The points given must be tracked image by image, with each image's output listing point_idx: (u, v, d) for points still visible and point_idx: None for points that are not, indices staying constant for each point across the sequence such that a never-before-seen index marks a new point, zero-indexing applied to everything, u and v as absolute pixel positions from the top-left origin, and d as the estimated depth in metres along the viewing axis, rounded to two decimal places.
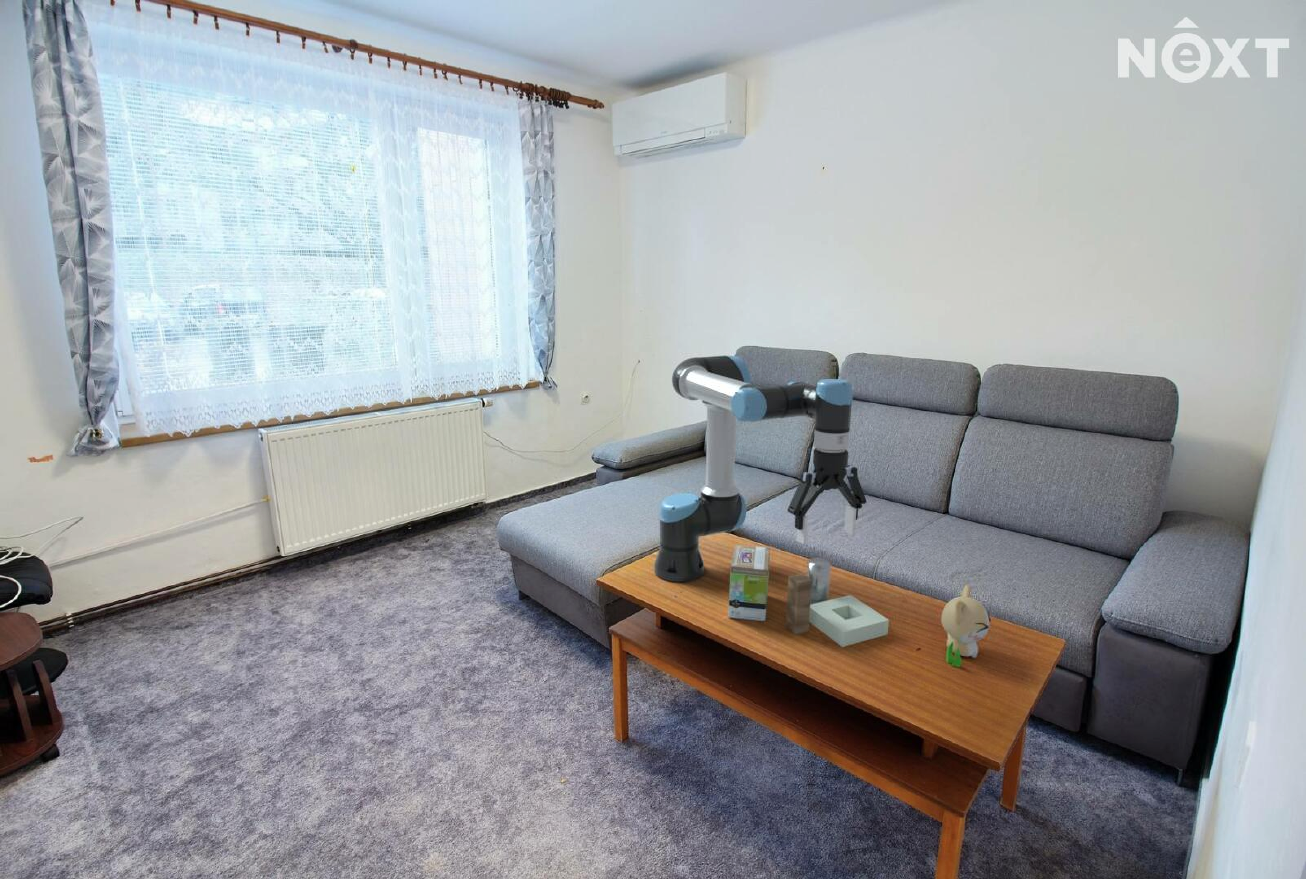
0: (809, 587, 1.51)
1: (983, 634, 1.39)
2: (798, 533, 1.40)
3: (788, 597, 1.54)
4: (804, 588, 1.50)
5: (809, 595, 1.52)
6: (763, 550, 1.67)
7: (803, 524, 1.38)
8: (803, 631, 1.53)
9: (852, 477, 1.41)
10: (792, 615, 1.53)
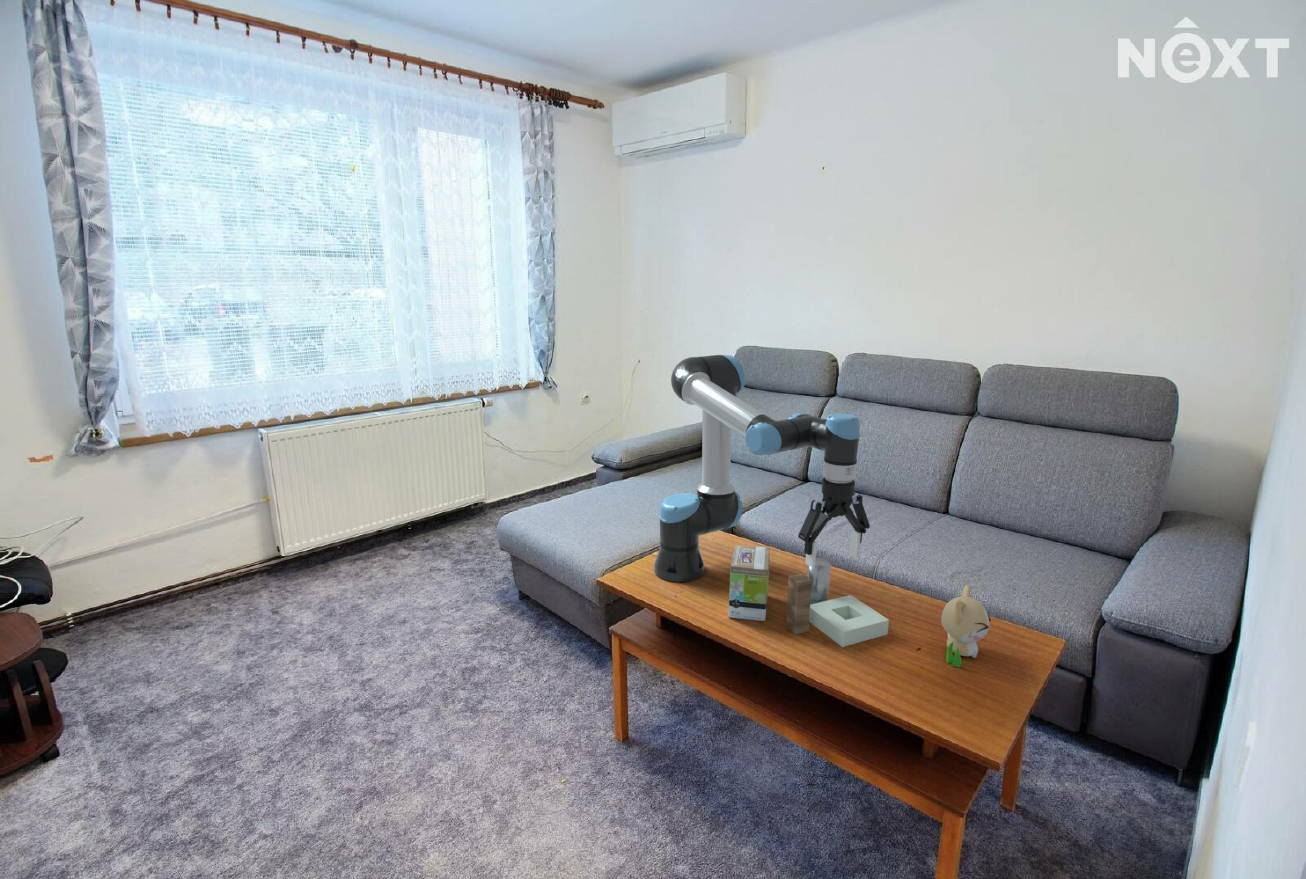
0: (809, 587, 1.51)
1: (983, 634, 1.39)
2: (807, 557, 1.49)
3: (788, 597, 1.54)
4: (804, 588, 1.50)
5: (809, 595, 1.52)
6: (763, 550, 1.67)
7: (812, 549, 1.47)
8: (803, 631, 1.53)
9: (857, 504, 1.50)
10: (792, 615, 1.53)
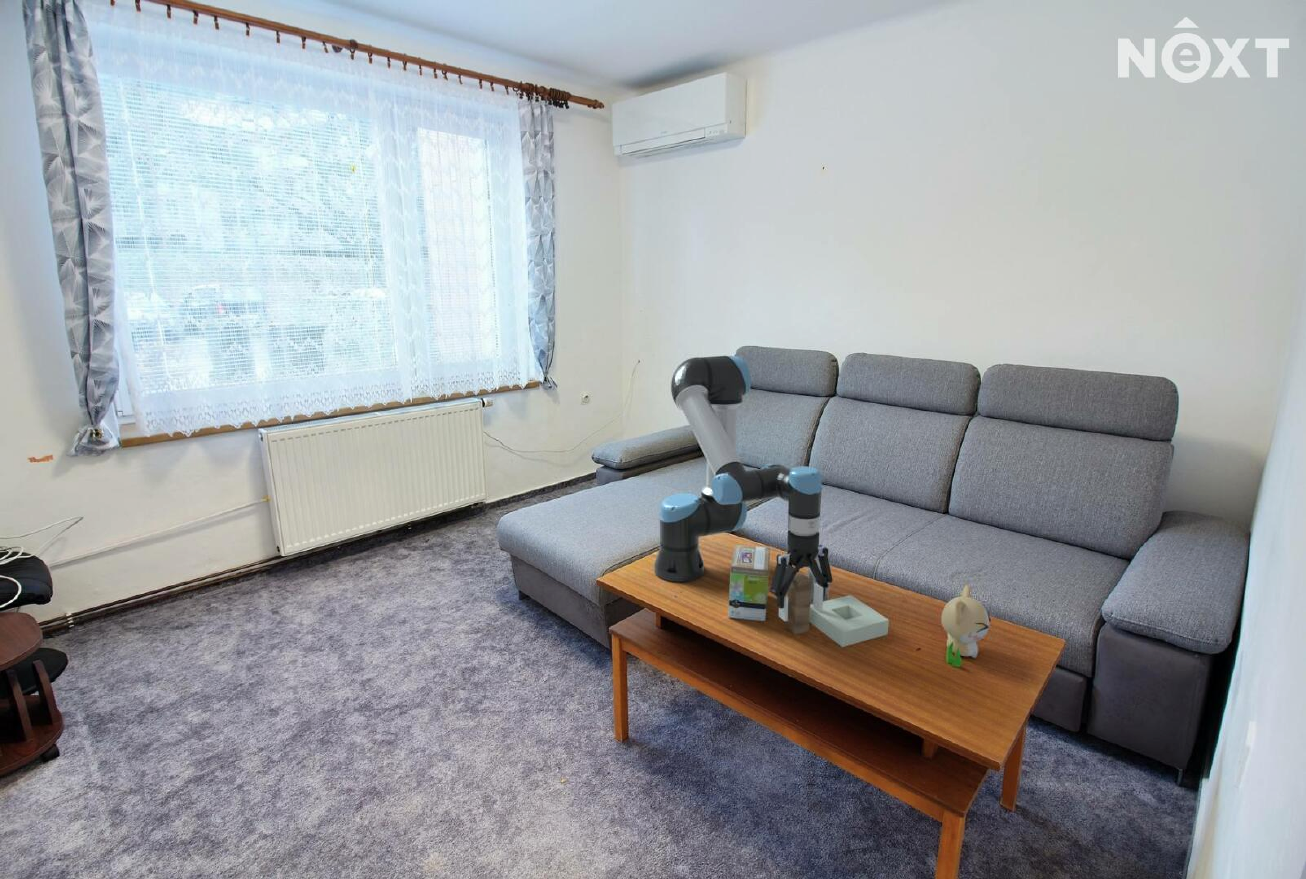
0: (809, 587, 1.51)
1: (983, 634, 1.39)
2: (780, 610, 1.53)
3: (788, 597, 1.54)
4: (804, 588, 1.50)
5: (809, 595, 1.52)
6: (763, 550, 1.67)
7: (784, 603, 1.50)
8: (803, 631, 1.53)
9: (823, 556, 1.52)
10: (792, 615, 1.53)
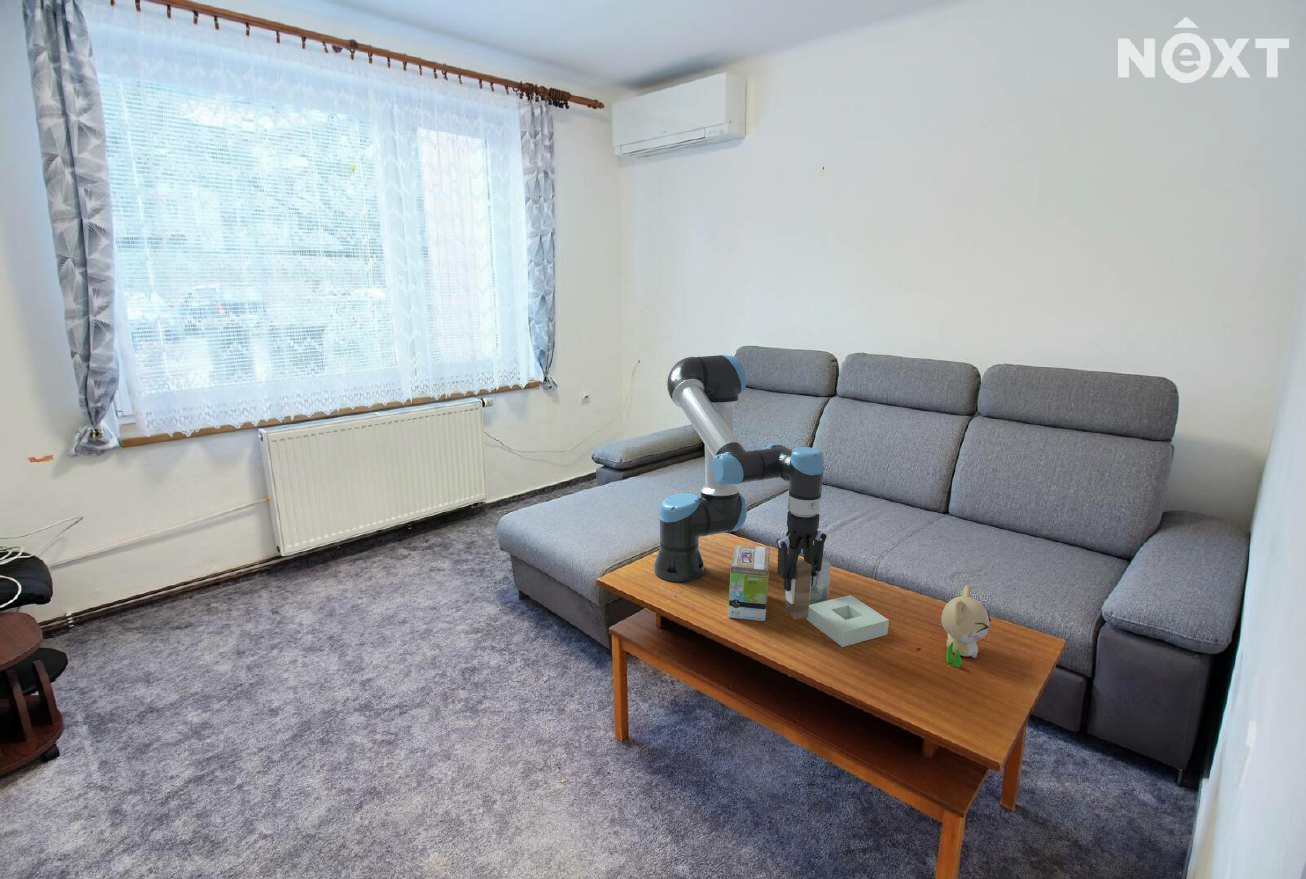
0: (809, 572, 1.50)
1: (983, 634, 1.39)
2: (786, 593, 1.53)
3: None
4: (804, 573, 1.50)
5: (809, 580, 1.51)
6: (763, 549, 1.67)
7: (791, 586, 1.51)
8: (802, 616, 1.53)
9: (819, 542, 1.51)
10: None
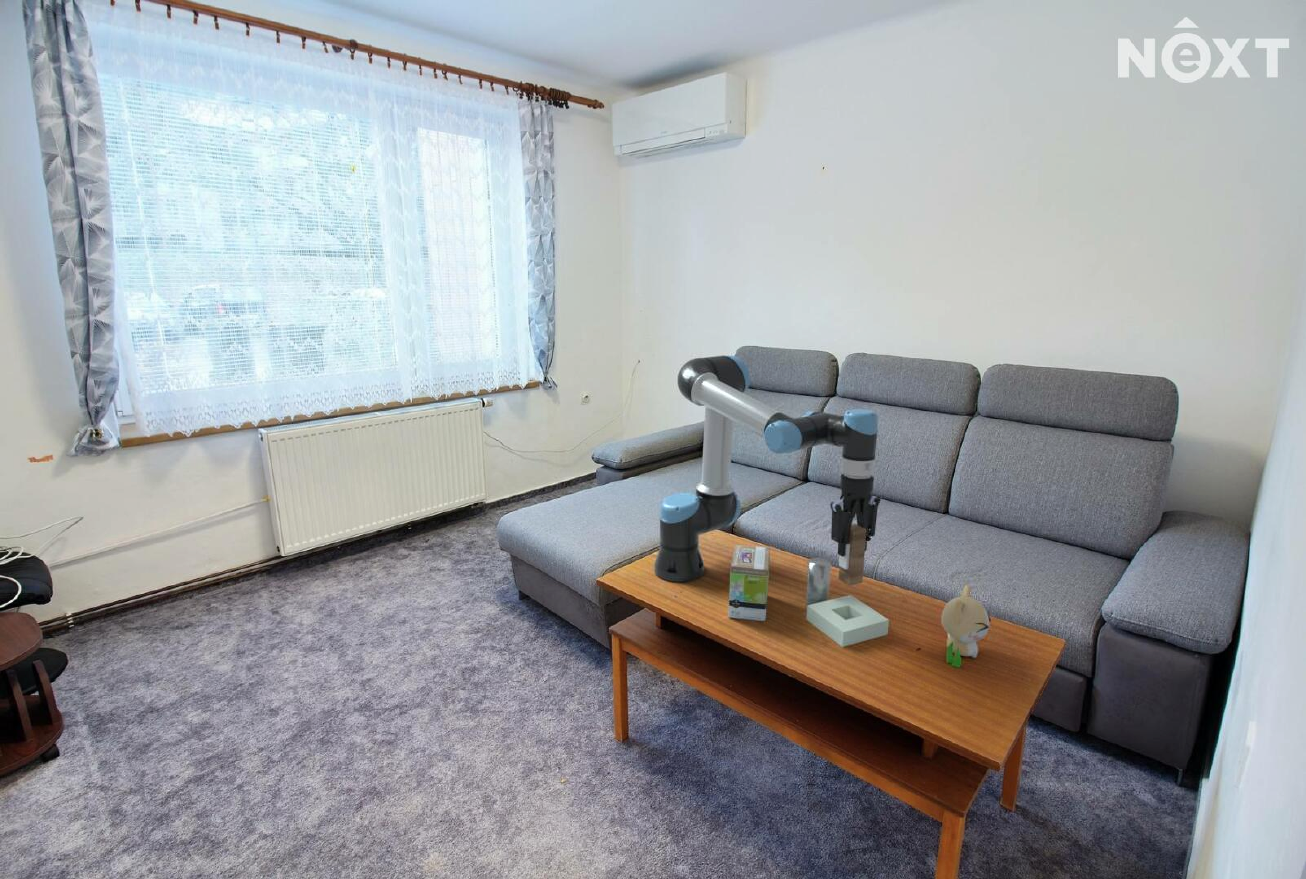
0: (863, 536, 1.49)
1: (983, 634, 1.39)
2: (840, 559, 1.51)
3: None
4: (858, 537, 1.48)
5: (863, 545, 1.49)
6: (763, 550, 1.67)
7: (846, 551, 1.49)
8: (857, 582, 1.51)
9: (873, 506, 1.50)
10: None
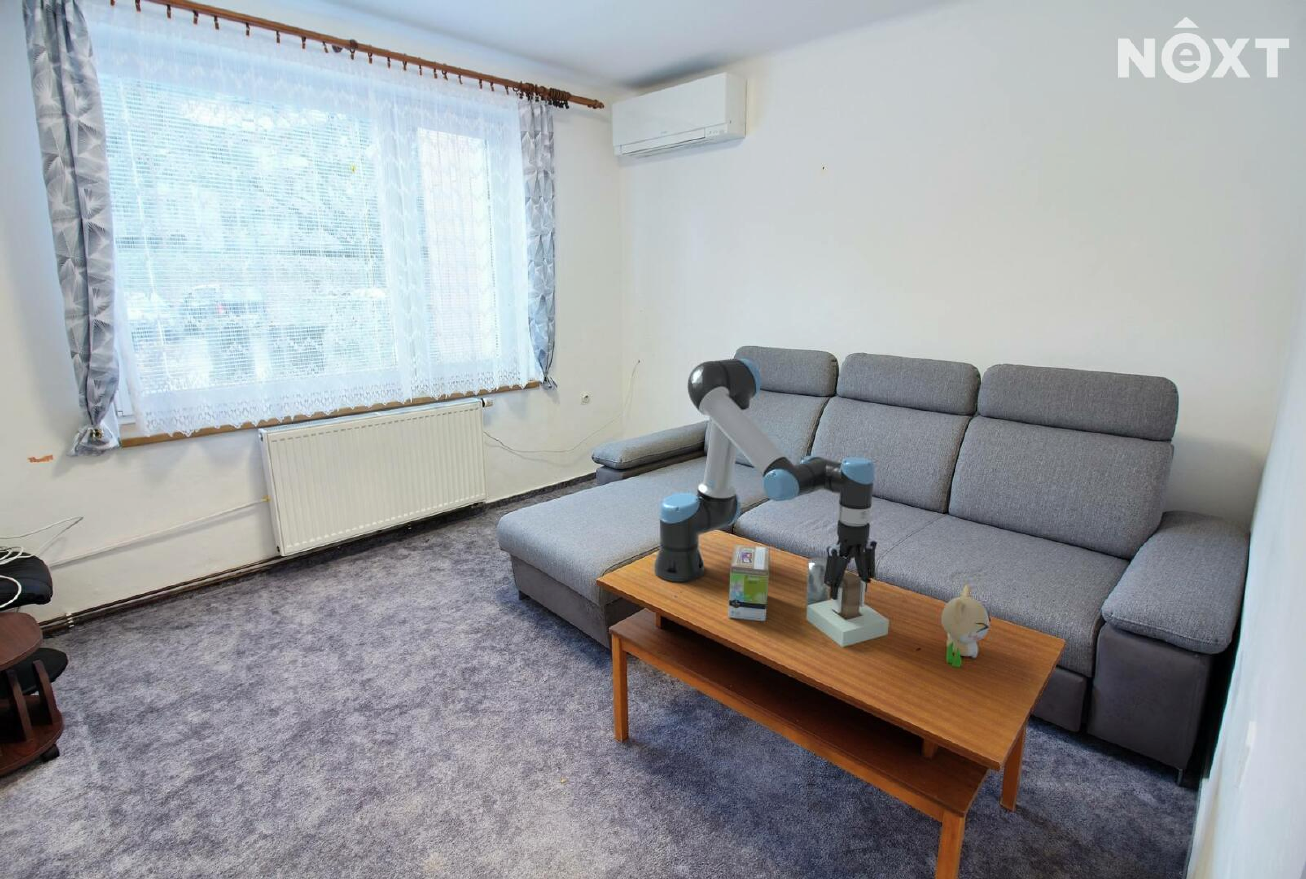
0: (859, 585, 1.52)
1: (983, 634, 1.39)
2: (832, 602, 1.54)
3: None
4: (854, 586, 1.51)
5: (859, 593, 1.52)
6: (763, 550, 1.67)
7: (838, 595, 1.51)
8: None
9: (870, 549, 1.53)
10: (842, 613, 1.54)
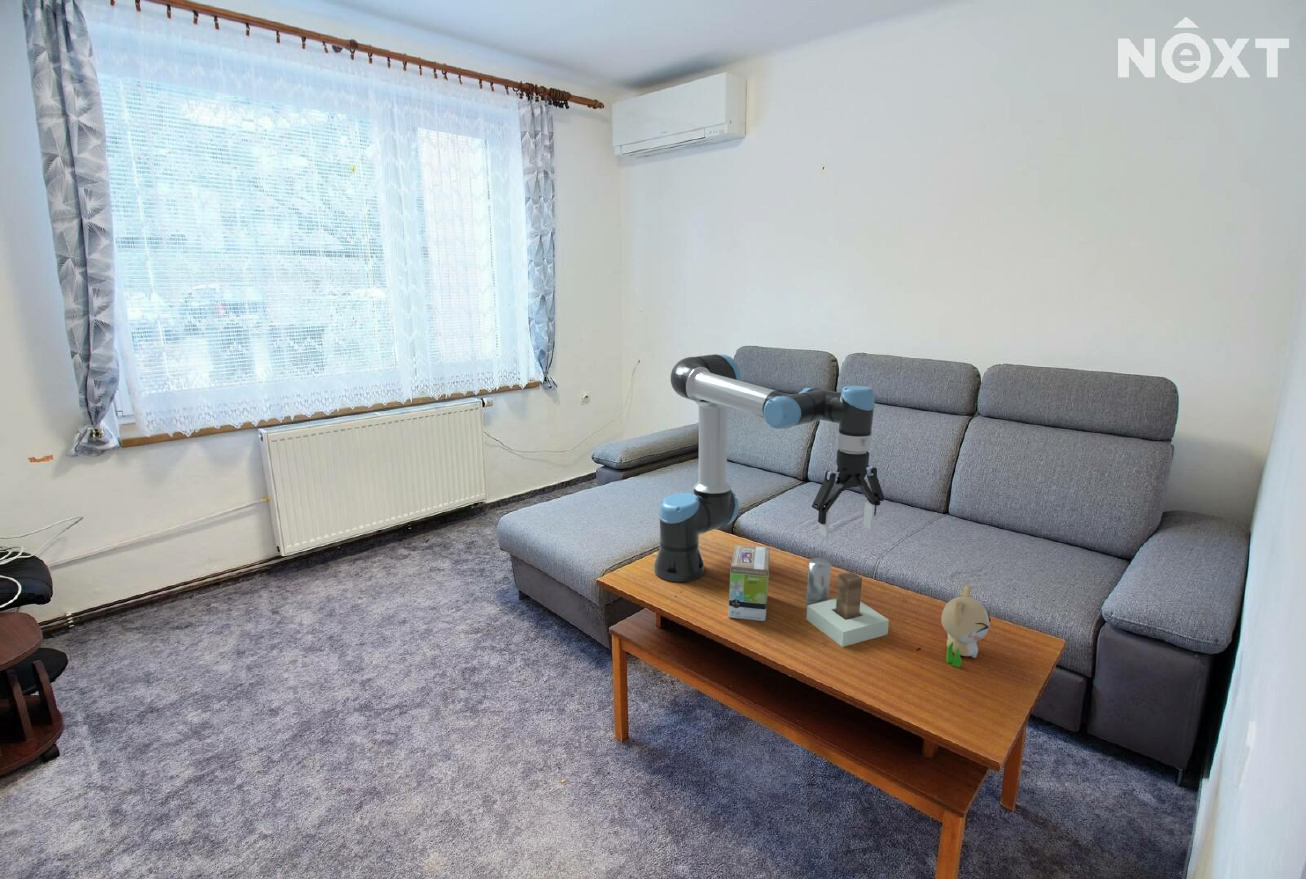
0: (859, 585, 1.52)
1: (983, 634, 1.39)
2: (821, 527, 1.52)
3: (838, 595, 1.55)
4: (854, 586, 1.51)
5: (859, 593, 1.53)
6: (763, 550, 1.67)
7: (826, 519, 1.50)
8: None
9: (872, 476, 1.52)
10: (842, 613, 1.54)
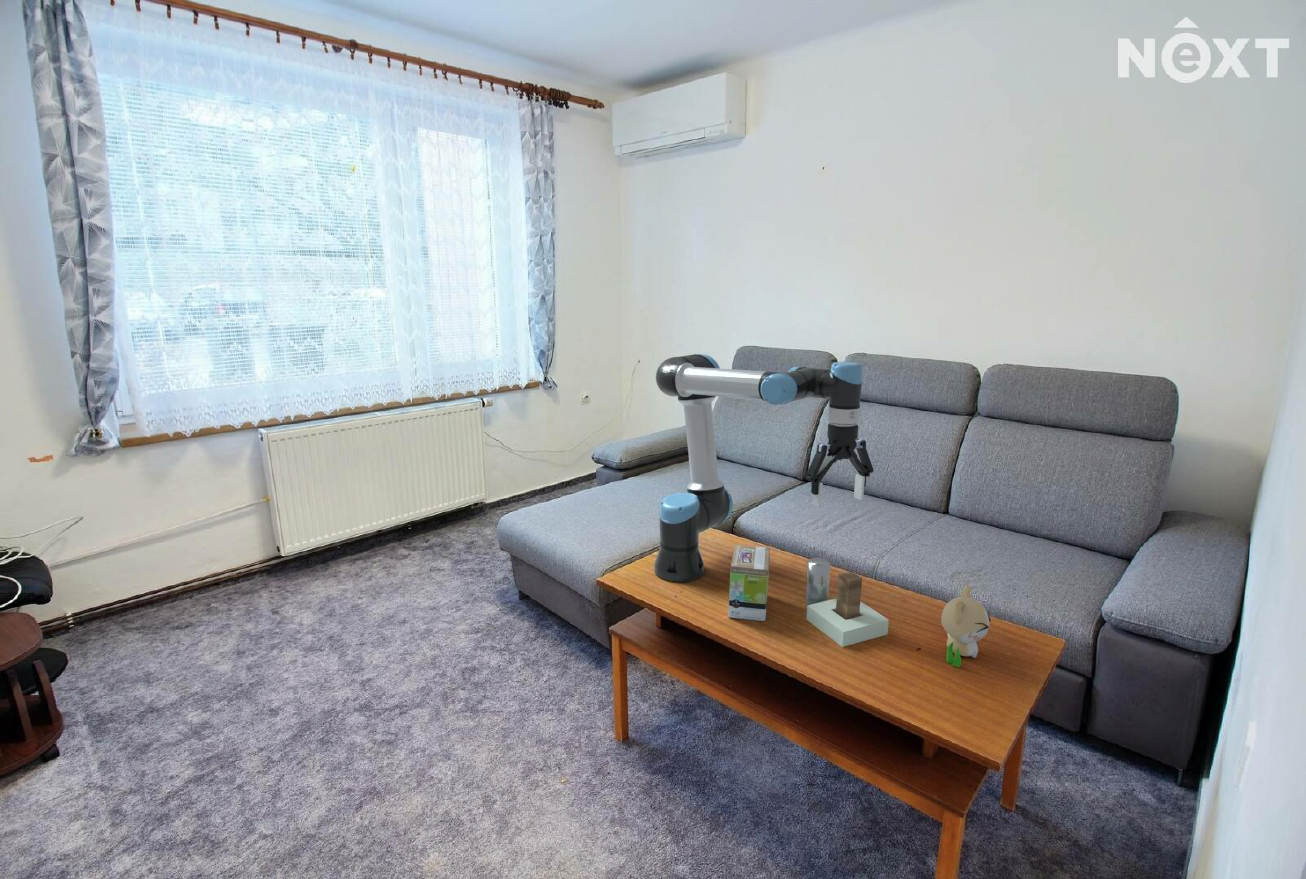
0: (859, 585, 1.52)
1: (983, 634, 1.39)
2: (814, 498, 1.60)
3: (838, 595, 1.55)
4: (854, 586, 1.51)
5: (859, 593, 1.53)
6: (763, 550, 1.67)
7: (819, 490, 1.57)
8: None
9: (861, 449, 1.60)
10: (842, 613, 1.54)
